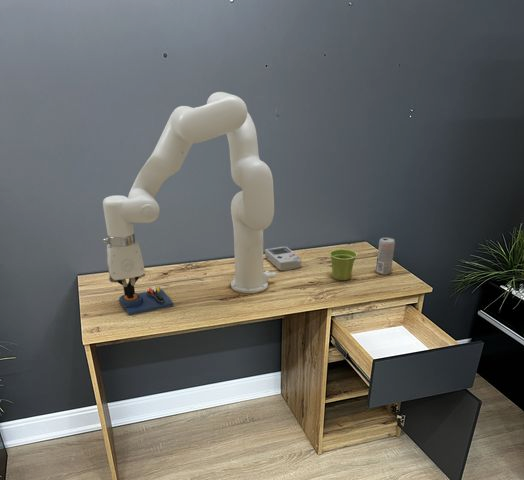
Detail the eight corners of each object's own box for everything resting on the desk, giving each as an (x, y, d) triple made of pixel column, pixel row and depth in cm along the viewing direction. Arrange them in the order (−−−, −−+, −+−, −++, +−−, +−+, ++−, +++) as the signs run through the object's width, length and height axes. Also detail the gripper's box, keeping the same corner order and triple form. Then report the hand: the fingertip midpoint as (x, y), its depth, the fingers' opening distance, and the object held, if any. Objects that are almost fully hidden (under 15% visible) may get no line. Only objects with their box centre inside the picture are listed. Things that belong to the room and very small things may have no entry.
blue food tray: (161, 292, 171) (160, 283, 169) (173, 306, 162) (172, 297, 160) (116, 300, 165) (115, 292, 163) (126, 316, 156) (124, 307, 154)
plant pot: (336, 284, 175) (338, 260, 171) (323, 274, 183) (324, 251, 178) (360, 279, 179) (362, 256, 174) (345, 270, 186) (347, 247, 181)
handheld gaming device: (280, 272, 185) (280, 262, 183) (264, 258, 197) (264, 248, 195) (302, 268, 188) (302, 258, 186) (285, 255, 199) (286, 245, 197)
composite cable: (166, 302, 161) (165, 295, 160) (151, 305, 159) (150, 298, 158) (159, 290, 169) (158, 283, 167) (145, 293, 167) (144, 286, 166)
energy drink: (386, 268, 187) (390, 236, 181) (393, 273, 183) (398, 241, 177) (372, 270, 186) (376, 238, 180) (380, 275, 182) (384, 243, 175)
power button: (136, 298, 163) (135, 292, 162) (139, 303, 160) (138, 297, 159) (123, 300, 162) (122, 295, 161) (126, 306, 159) (125, 300, 158)
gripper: (98, 247, 145) (108, 306, 154) (150, 239, 150) (156, 296, 160) (93, 239, 150) (103, 296, 160) (143, 232, 156) (150, 287, 166)
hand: (130, 296), depth 160 cm, fingers closed
